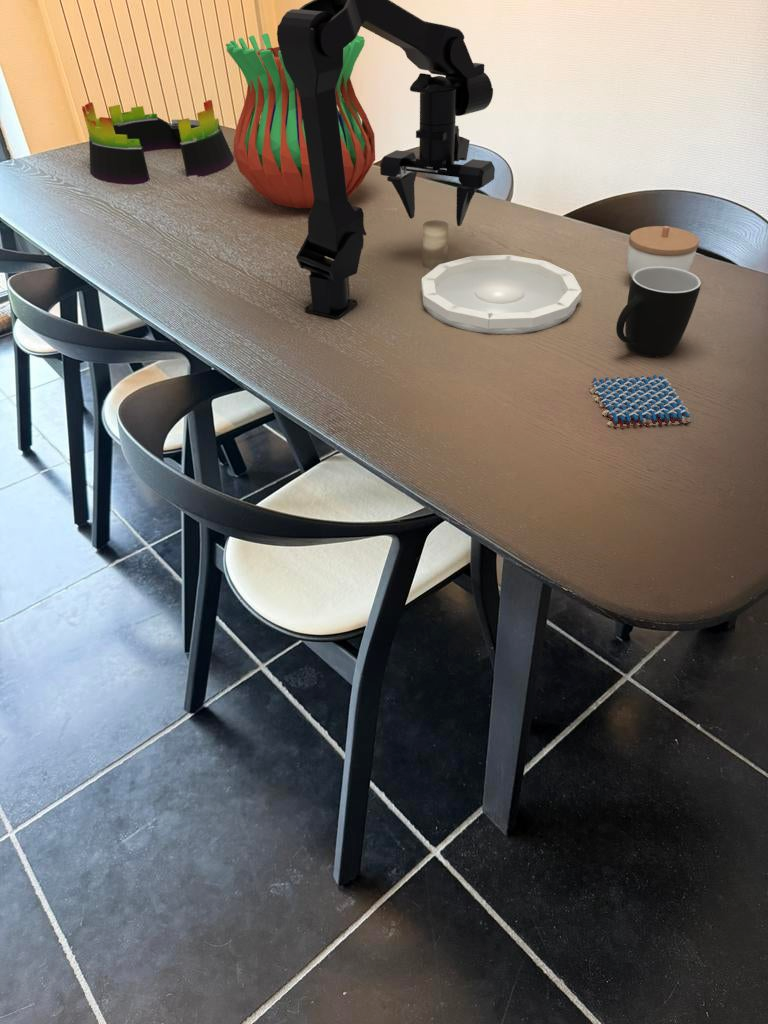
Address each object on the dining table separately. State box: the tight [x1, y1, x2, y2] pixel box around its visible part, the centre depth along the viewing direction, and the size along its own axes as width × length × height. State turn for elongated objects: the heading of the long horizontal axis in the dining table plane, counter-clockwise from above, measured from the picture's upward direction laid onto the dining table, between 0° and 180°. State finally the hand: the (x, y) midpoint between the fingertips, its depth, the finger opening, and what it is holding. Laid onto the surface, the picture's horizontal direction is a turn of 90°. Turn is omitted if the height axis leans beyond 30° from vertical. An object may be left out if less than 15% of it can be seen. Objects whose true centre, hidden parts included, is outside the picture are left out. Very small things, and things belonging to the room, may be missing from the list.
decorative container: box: [81, 99, 235, 186], centre depth 180 cm, size 37×37×15 cm
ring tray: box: [420, 254, 583, 335], centre depth 115 cm, size 25×25×2 cm
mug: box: [615, 266, 702, 358], centre depth 98 cm, size 12×9×10 cm
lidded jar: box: [626, 225, 700, 278], centre depth 116 cm, size 11×11×9 cm
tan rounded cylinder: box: [422, 220, 449, 270], centre depth 126 cm, size 4×4×7 cm
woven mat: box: [588, 374, 691, 428], centre depth 90 cm, size 10×11×2 cm
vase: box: [225, 33, 376, 209], centre depth 149 cm, size 30×30×30 cm
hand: (435, 221), depth 123 cm, fingers open, 9 cm apart
